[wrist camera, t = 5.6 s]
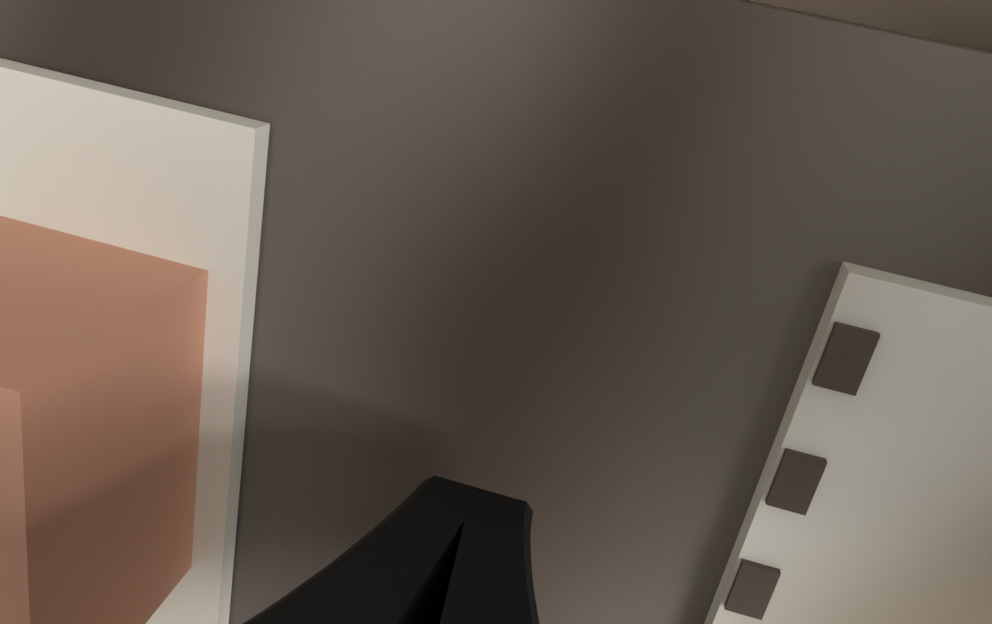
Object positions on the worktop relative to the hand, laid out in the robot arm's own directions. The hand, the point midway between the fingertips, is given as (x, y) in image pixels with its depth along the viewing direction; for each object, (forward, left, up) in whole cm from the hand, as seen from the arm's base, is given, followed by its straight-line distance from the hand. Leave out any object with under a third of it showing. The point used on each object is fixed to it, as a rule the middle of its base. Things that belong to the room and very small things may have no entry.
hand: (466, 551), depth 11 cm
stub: (+7, 0, -1) cm, 7 cm away
